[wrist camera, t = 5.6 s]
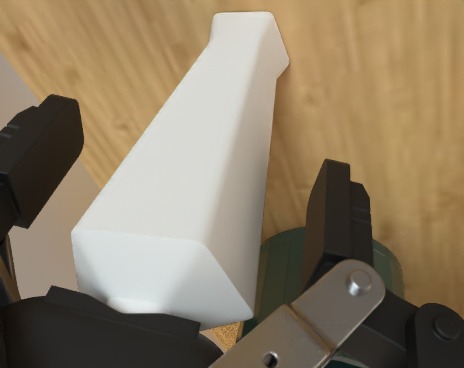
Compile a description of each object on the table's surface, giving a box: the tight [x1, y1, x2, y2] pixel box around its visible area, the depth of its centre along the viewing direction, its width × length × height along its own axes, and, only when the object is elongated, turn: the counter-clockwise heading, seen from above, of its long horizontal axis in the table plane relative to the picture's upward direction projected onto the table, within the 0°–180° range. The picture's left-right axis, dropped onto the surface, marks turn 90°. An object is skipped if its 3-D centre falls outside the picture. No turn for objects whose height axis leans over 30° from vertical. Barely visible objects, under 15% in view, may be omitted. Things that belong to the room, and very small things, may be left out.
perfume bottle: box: [71, 12, 290, 331], centre depth 13 cm, size 5×4×15 cm
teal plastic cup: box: [236, 227, 406, 368], centre depth 27 cm, size 14×10×8 cm
